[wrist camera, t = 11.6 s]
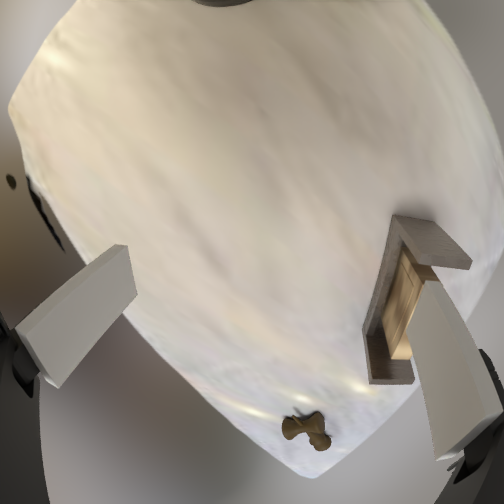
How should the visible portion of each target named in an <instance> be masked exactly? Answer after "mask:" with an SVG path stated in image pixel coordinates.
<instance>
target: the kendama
mask: <svg viewBox="0 0 504 504" xmlns="http://www.w3.org/2000/svg"><path fill="white" fill-rule="evenodd" d="M292 418H293V419H294V420H292V419H289V418H285V419H284V420H283V423H282V433H283V435H284V437H285V438H286V439H287V440H292V439H293V438H294V437H295V436H297V435H298V434H300V433H304V432H306V433H307V434H308V436H309V437H310V439H309V442H310V444H311V445H313V446H314V448H315V450H317V451H324V450H327V449H328V448H329V447H330V446H331V438H330V437H329V436H325V434H324V433H323V432H324V430H325V422H324V418H323V416H322V415H321V414H320V413H315V414H314V415H313V416H312V417H310V418H309V419H307V420H302V421H300V420H299V419H298V418H297V417H296V416H294V415H292Z"/></svg>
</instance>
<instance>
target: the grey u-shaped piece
mask: <svg viewBox="0 0 504 504" xmlns="http://www.w3.org/2000/svg"><path fill="white" fill-rule="evenodd" d="M401 247H407V248H409V250H410V251H411V253H412V254H413V256H414V257H415V259H416V260H417V262H418V264H423V265H430V267H431V266H440V267H448V268H456V269H464V270H469V269H470V266H471V264H472V261H473V260H472V259H471V258H470V257H469V256H468V255H467V254H466V253H465V252H464V251H463V250H462V248H461V247H460V246H459V245H458V244H457V243H456V242H455V241H454V240H453V239H452V238H451V237H450V236H449V235H448V234H447V233H446V232H445V231H444V230H443V229H442V228H441V227H440V226H438V225H437V224H436V223H435V222H433V221H427V220H421V219H416V218H410V217H403V216H397V215H392V220H391V225H390V230H389V235H388V239H387V244H386V248H385V252H384V256H383V260H382V264H381V268H380V272H379V276H378V279H377V283H376V286H375V290H374V293H373V297H372V300H371V303H370V307H369V310H368V313H367V316H366V319H365V322H364V325H363V328H362V333H363V339H364V346H365V353H366V361H367V369H368V378H369V384H378V385H404V384H412V383H413V382H414V380H415V377H414V373H413V369H412V365H411V361H410V360H405V359H391V357H390V353H389V348H388V344H387V340H386V335H385V331H384V327H383V323H382V319H381V312H382V309H383V306H384V303H385V300H386V297H387V294H388V291H389V288H390V284H391V281H392V278H393V274H394V271H395V267H396V264H397V260H398V256H399V252H400V249H401Z"/></svg>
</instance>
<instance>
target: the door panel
mask: <svg viewBox="0 0 504 504" xmlns="http://www.w3.org/2000/svg"><path fill="white" fill-rule="evenodd" d="M426 280H427V281H437V282H440V280H439V279H438V277H437V276H436V274H435V273H434V271H433V270H432V268H431V267H430V265H423V264H418V262H417V260H416V259H415V257H414V256H413V254H412V253H411V251H410V250H409V248H407V247H401V249H400V252H399V256H398V260H397V264H396V267H395V271H394V274H393V278H392V281H391V284H390V288H389V291H388V294H387V297H386V300H385V303H384V306H383V309H382V312H381V319H382V323H383V327H384V331H385V335H386V340H387V344H388V348H389V353H390V357H391V359H405V360H410V358H411V356H412V354H413V353H412V350H411V346H410V343H409V340H408V337H407V334H406V329H407V327H408V325H409V322H410V320H411V317H412V315H413V313H414V310H415V308H416V305H417V303H418V300H419V297H420V295H421V292H422V289H423V286H424V284H425V281H426ZM441 284H442V283H441ZM442 286H443V285H442Z"/></svg>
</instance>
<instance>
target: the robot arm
mask: <svg viewBox="0 0 504 504" xmlns="http://www.w3.org/2000/svg"><path fill="white" fill-rule="evenodd" d="M193 1H195V2H197V3H199V4H202V5H207V6H215V7H224V6H233V5H238V4H242V3H245V2H248V1H251V0H193ZM137 295H138V294H137V290H136V286H135V281H134V276H133V272H132V267H131V262H130V257H129V251H128V246H126V245H118V244H115V245H113V246H112V247H111V248H109V249H108V250H107V251H105V252H104V253H103V254H101V255H100V256H99V257H97V258H96V259H95V260H94V261H92V262H91V263H90V264H88V265H87V266H86V267H85V268H83V269H82V270H81V271H80V272H78V273H77V274H76V275H74V276H73V277H72V278H71V279H70V280H68V281H67V282H66V283H65V284H64V285H62V286H61V287H60V288H59V289H58V290H56V291H55V292H54V293H53V294H51V295H49V296H48V297H47V298H46V299H45V300H44V301H42V302H41V304H39V305H38V306H37V307H36V308H35V310H32V311H31V312H30V313H29V314H28V315H27V316H26V317H24V318H23V319H22V320H21V321H20V322H19V323H18V324H17V325H16V326H15V327H14V328H13V329H12V330H9V328H8V326H7V324H6V322H5V320H4V318H3V316H2V314H1V312H0V504H50V501H49V497H48V492H47V487H46V481H45V476H44V468H43V461H42V451H41V440H40V420H39V391H40V380H39V377H38V376H37V374H38V373H39V372H41V373H42V375H43V376H44V377H45V379H46V381H47V382H49V383H50V384H52V385H53V386H55V387H57V388H58V389H59V388H60V387H61V385H62V384H63V382H64V381H65V380H66V379H67V377H68V376H69V375H70V374H71V372H72V371H73V370H74V369H75V367H76V366H77V365H78V364H79V363H80V361H81V360H82V359H83V358H84V356H85V355H86V354H87V353H88V351H89V350H90V349H91V348H92V347H93V346H94V344H95V343H96V342H97V341H98V340H99V338H100V337H101V336H102V335H103V334H104V333H105V331H106V330H107V329H108V328H109V327H110V325H111V324H112V323H113V322H114V321H115V320H116V319H117V317H118V316H119V315H120V314H121V313H122V312H123V311H124V310H125V308H126V307H127V306H128V305H129V304H130V303H131V302H132V301H133V299H134V298H135V297H136V296H137ZM406 334H407V337H408V340H409V343H410V346H411V350H412V353H413V357H414V360H415V364H416V367H417V371H418V375H419V379H420V382H421V386H422V390H423V395H424V399H425V404H426V408H427V413H428V418H429V423H430V429H431V434H432V440H433V447H434V454H435V460H436V461H437V460H442V459H446V458H450V457H454V456H455V455H456V454H457V453H459V452H460V451H461V450H462V449H464V454H465V455H464V456H463V457H462V458H460V459H459V460H458V461H456V462H455V463H454V464H452V465H451V466H450V467H449V468H448V469H447V471H450V470H452V469H453V468H454V467H456V468H455V470H454V471H453V472H452V475H451V477H450V479H449V481H448V482H447V484H446V486H445V487H444V489H443V491H442V492H441V494H440V495H439V497H438V499H437V500H436V502H435V503H434V504H504V389H503V386H502V384H501V381H500V380H499V377H498V375H497V372H496V371H495V368H494V366H493V364H492V361H491V359H490V358H489V357H488V355H487V354H486V353H485V352H484V351H483V350H482V349H478V348H477V346H476V344H475V342H474V340H473V338H472V336H471V334H470V332H469V331H468V328H467V327H466V325H465V323H464V321H463V319H462V317H461V316H460V314H459V312H458V310H457V309H456V307H455V305H454V304H453V302H452V300H451V298H450V297H449V295H448V294H447V292H446V290H445V289H444V287H443V286H442V284H441V282H437V281H427V280H426V281H425V284H424V286H423V289H422V292H421V295H420V297H419V300H418V303H417V305H416V308H415V310H414V313H413V315H412V317H411V320H410V322H409V325H408V327H407V329H406Z"/></svg>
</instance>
